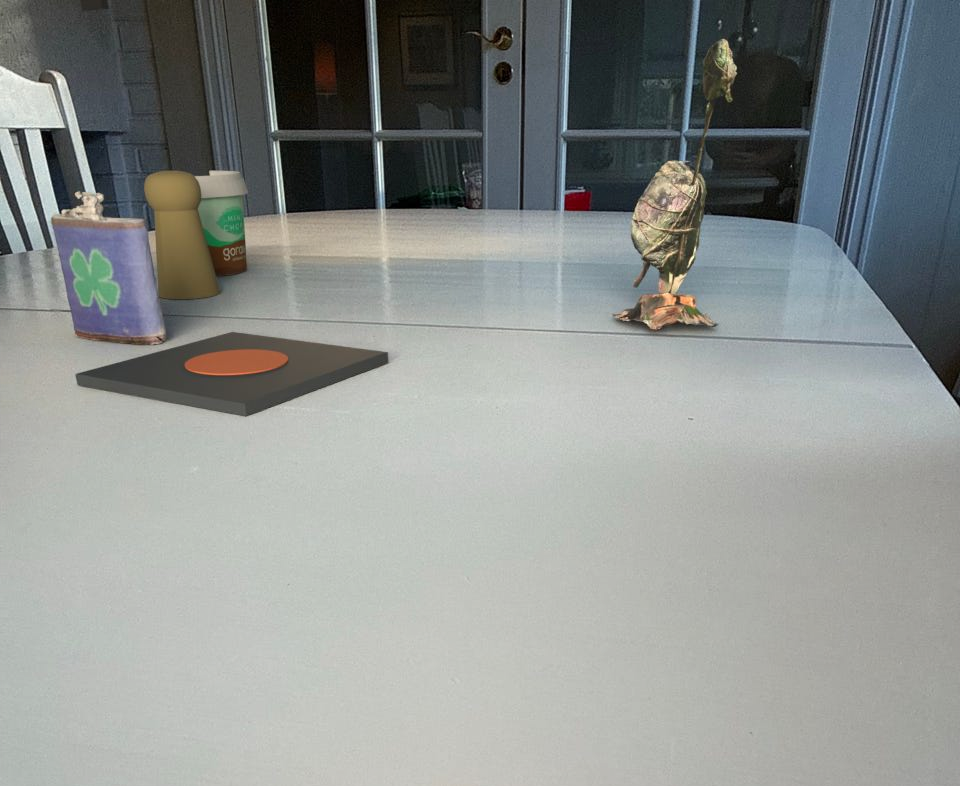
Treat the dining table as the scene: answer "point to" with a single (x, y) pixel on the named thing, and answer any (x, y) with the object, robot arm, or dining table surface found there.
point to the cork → (180, 237)
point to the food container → (224, 220)
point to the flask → (108, 274)
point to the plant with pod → (677, 216)
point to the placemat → (233, 372)
